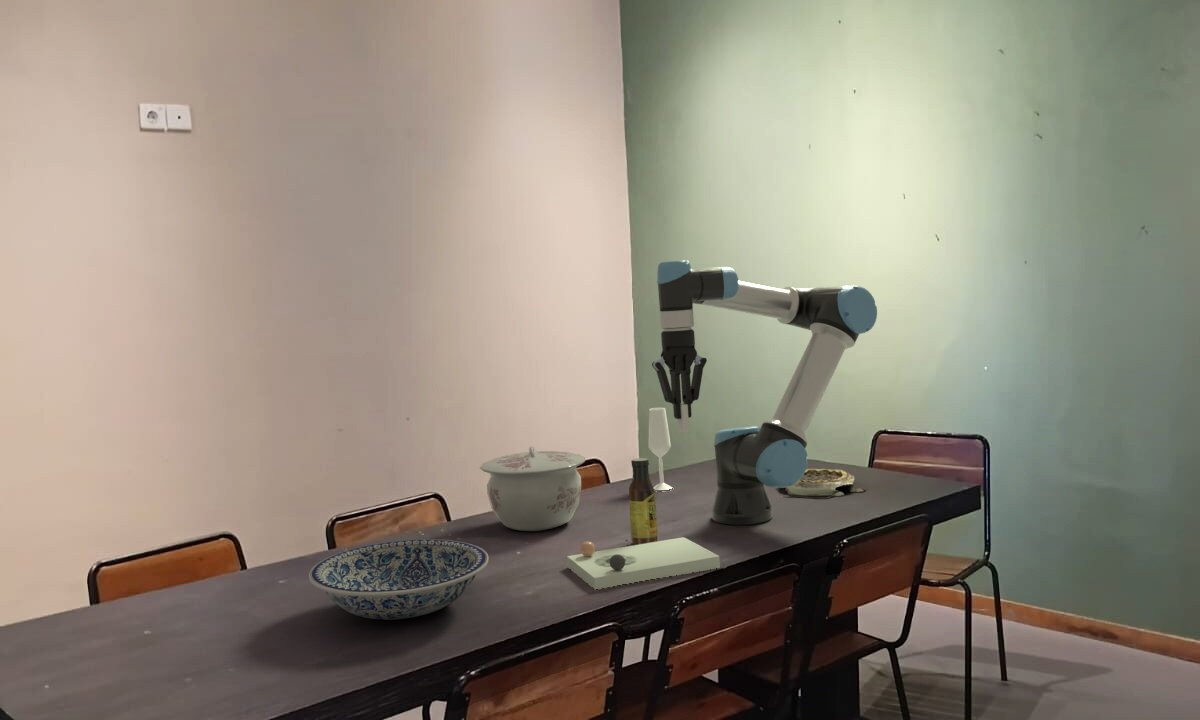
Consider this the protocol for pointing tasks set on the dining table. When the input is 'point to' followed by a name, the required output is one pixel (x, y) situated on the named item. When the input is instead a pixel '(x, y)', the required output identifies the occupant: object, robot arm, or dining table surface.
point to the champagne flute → (659, 440)
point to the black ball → (617, 562)
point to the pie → (822, 483)
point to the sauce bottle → (642, 504)
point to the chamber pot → (534, 488)
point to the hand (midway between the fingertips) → (683, 432)
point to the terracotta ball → (587, 548)
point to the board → (643, 562)
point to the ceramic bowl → (399, 576)
